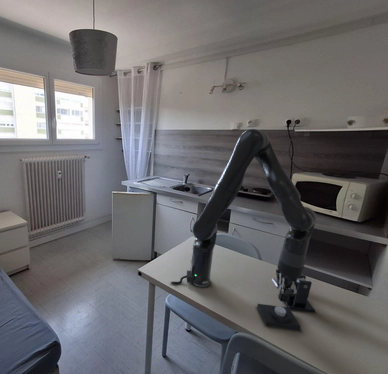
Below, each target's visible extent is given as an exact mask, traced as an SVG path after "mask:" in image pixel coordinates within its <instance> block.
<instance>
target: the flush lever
mask: <svg viewBox="0 0 388 374" xmlns="http://www.w3.org/2000/svg"><path fill="white" fill-rule="evenodd" d="M299 280H302V281H307V279H304V278H297V284H298V281H299ZM271 282H272V283H273V285H274V286H275V288H276V289H278V290H279V286H278V284H277V279H276V278H274V277H272V278H271Z"/></svg>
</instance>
